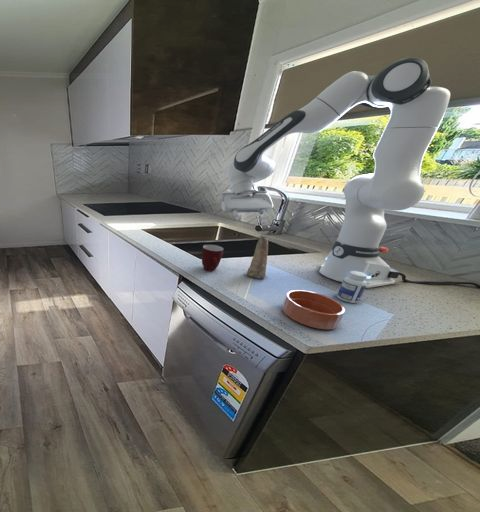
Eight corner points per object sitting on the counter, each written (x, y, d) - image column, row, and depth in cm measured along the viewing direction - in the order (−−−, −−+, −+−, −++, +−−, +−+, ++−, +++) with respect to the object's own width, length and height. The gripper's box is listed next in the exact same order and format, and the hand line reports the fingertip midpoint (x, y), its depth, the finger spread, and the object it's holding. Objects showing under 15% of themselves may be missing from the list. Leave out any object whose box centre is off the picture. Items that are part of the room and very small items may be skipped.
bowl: (311, 304, 80) (316, 289, 78) (351, 330, 68) (358, 314, 66) (271, 304, 80) (276, 290, 78) (304, 331, 68) (311, 315, 66)
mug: (225, 276, 99) (230, 253, 95) (205, 276, 99) (209, 253, 96) (214, 265, 109) (218, 244, 105) (196, 265, 109) (199, 244, 105)
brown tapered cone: (243, 274, 102) (252, 281, 96) (247, 234, 95) (257, 240, 89) (259, 272, 102) (268, 279, 96) (264, 231, 94) (275, 237, 89)
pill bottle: (351, 295, 84) (362, 270, 80) (362, 304, 79) (375, 278, 76) (332, 294, 85) (343, 269, 82) (342, 302, 81) (354, 276, 77)
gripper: (222, 188, 105) (229, 216, 100) (270, 188, 104) (279, 215, 99) (216, 197, 111) (222, 223, 106) (262, 197, 110) (270, 223, 105)
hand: (250, 219), depth 102 cm, fingers open, 8 cm apart
